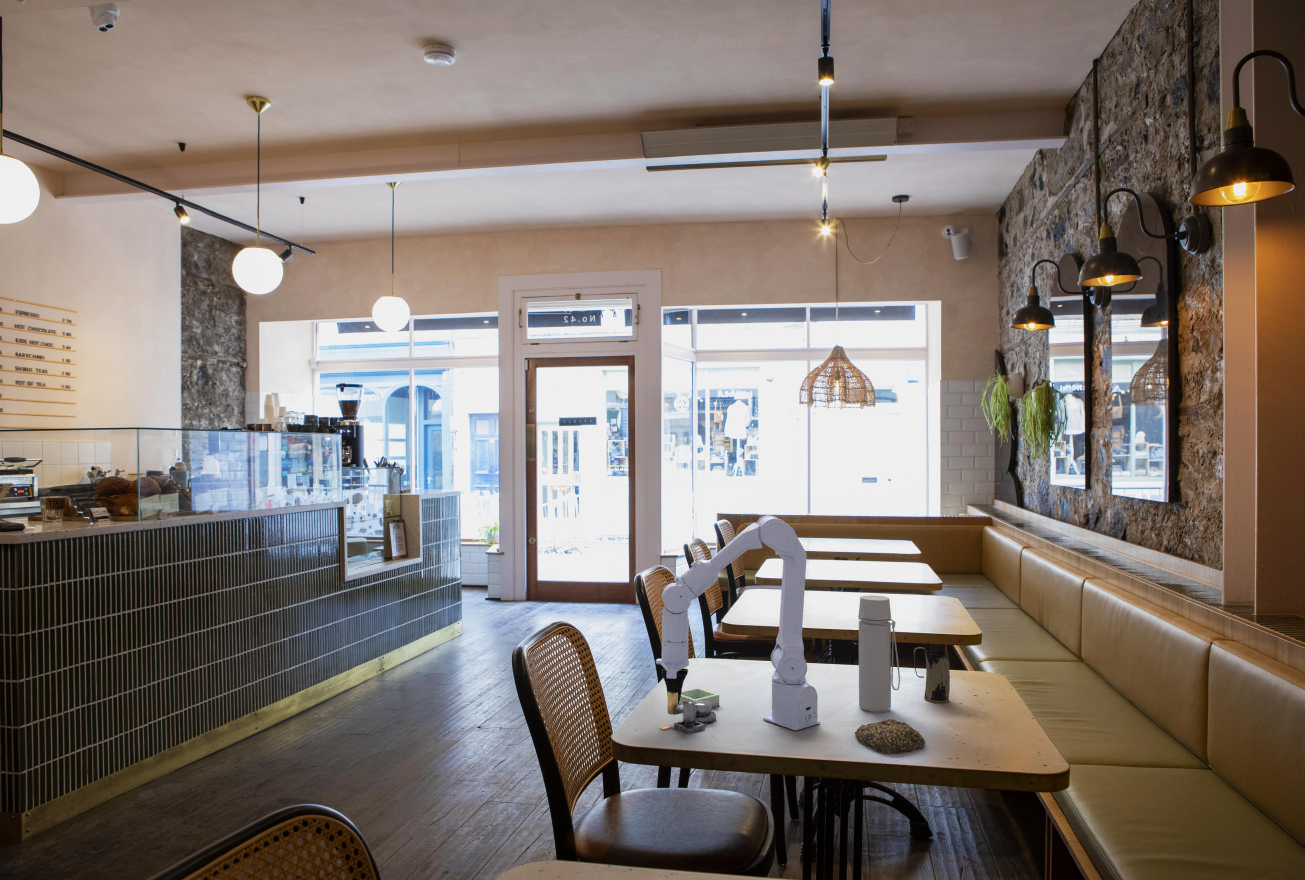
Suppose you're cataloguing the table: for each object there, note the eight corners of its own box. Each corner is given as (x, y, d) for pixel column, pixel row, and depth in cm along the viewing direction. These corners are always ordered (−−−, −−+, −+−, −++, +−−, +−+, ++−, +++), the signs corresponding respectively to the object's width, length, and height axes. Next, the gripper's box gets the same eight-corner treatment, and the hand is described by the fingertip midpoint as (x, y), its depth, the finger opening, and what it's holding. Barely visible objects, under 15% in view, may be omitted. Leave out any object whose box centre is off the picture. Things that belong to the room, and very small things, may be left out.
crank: (702, 707, 187) (702, 682, 187) (716, 713, 182) (716, 688, 182) (662, 715, 181) (662, 689, 181) (674, 722, 177) (674, 695, 177)
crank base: (730, 722, 181) (730, 717, 181) (678, 736, 172) (678, 731, 172) (701, 711, 188) (701, 707, 188) (650, 724, 179) (650, 720, 179)
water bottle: (854, 711, 188) (853, 599, 189) (862, 701, 195) (862, 593, 196) (896, 717, 184) (895, 602, 184) (903, 707, 191) (903, 596, 191)
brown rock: (878, 757, 161) (878, 731, 161) (847, 736, 173) (847, 712, 173) (937, 751, 164) (937, 725, 164) (902, 731, 176) (902, 707, 176)
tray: (719, 705, 192) (719, 694, 193) (694, 711, 188) (694, 700, 188) (697, 698, 198) (697, 687, 198) (673, 703, 194) (673, 693, 194)
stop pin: (698, 728, 176) (698, 702, 176) (688, 731, 175) (688, 704, 175) (689, 725, 178) (689, 699, 178) (680, 728, 177) (680, 701, 177)
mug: (948, 697, 199) (948, 646, 199) (951, 704, 194) (951, 651, 194) (913, 695, 201) (913, 644, 201) (915, 701, 196) (914, 649, 196)
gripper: (660, 631, 189) (659, 692, 189) (652, 646, 175) (651, 712, 174) (691, 633, 188) (690, 694, 188) (686, 648, 174) (685, 714, 174)
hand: (674, 703), depth 181 cm, fingers closed, pressing on crank
